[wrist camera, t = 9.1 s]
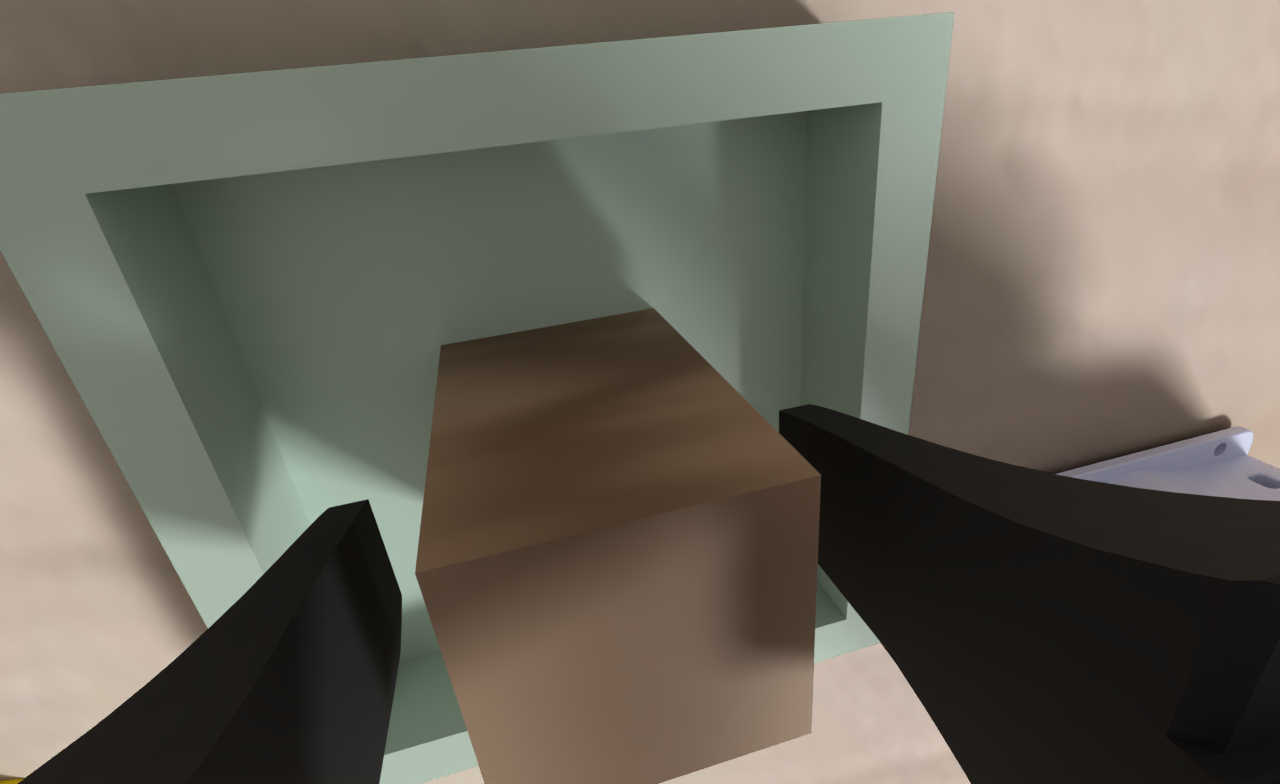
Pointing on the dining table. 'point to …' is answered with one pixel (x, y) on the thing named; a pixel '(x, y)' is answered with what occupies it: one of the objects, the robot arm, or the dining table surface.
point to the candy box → (11, 781)
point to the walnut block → (615, 556)
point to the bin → (462, 267)
